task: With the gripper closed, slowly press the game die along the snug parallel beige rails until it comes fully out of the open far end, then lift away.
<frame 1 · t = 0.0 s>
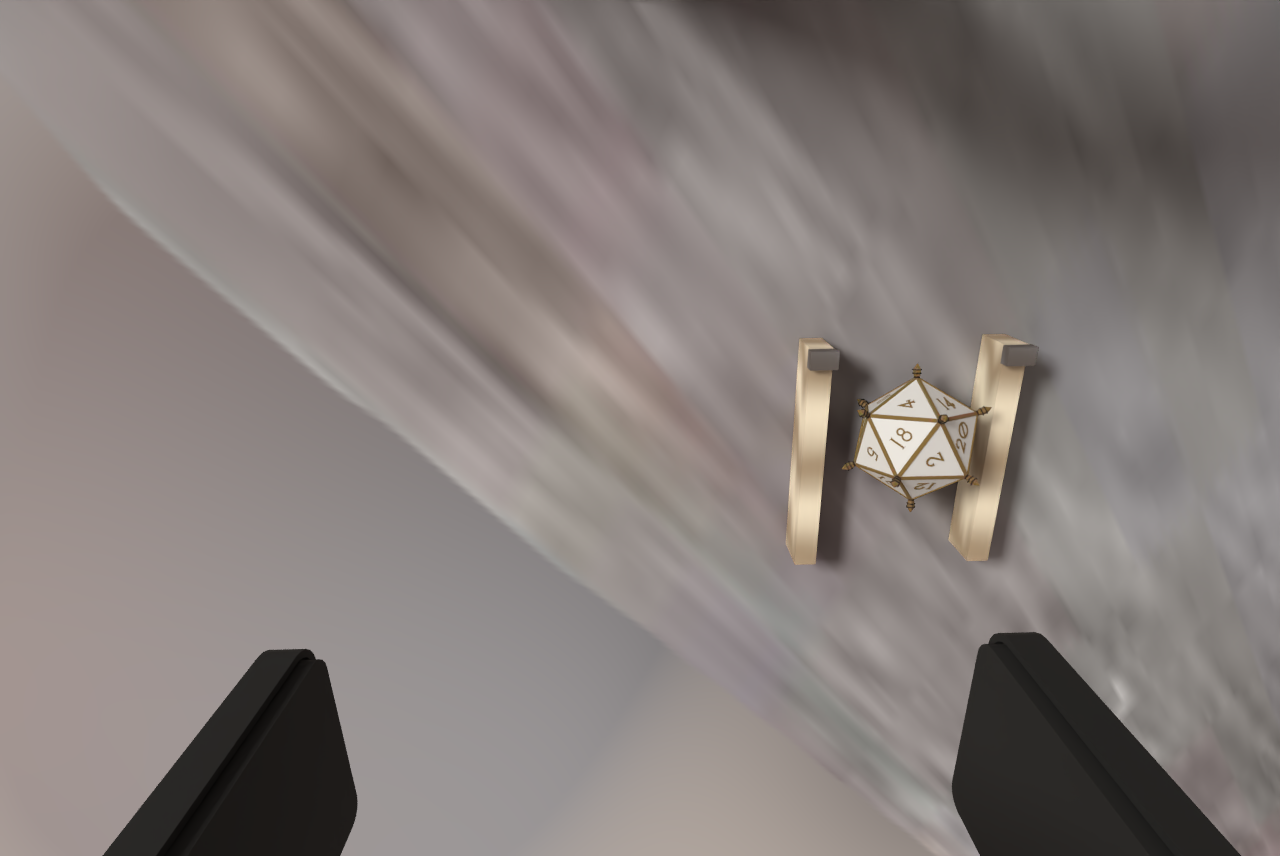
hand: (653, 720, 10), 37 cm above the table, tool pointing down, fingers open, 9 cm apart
game die: (890, 417, 47), on the table
parallel beige rails: (888, 444, 48), on the table
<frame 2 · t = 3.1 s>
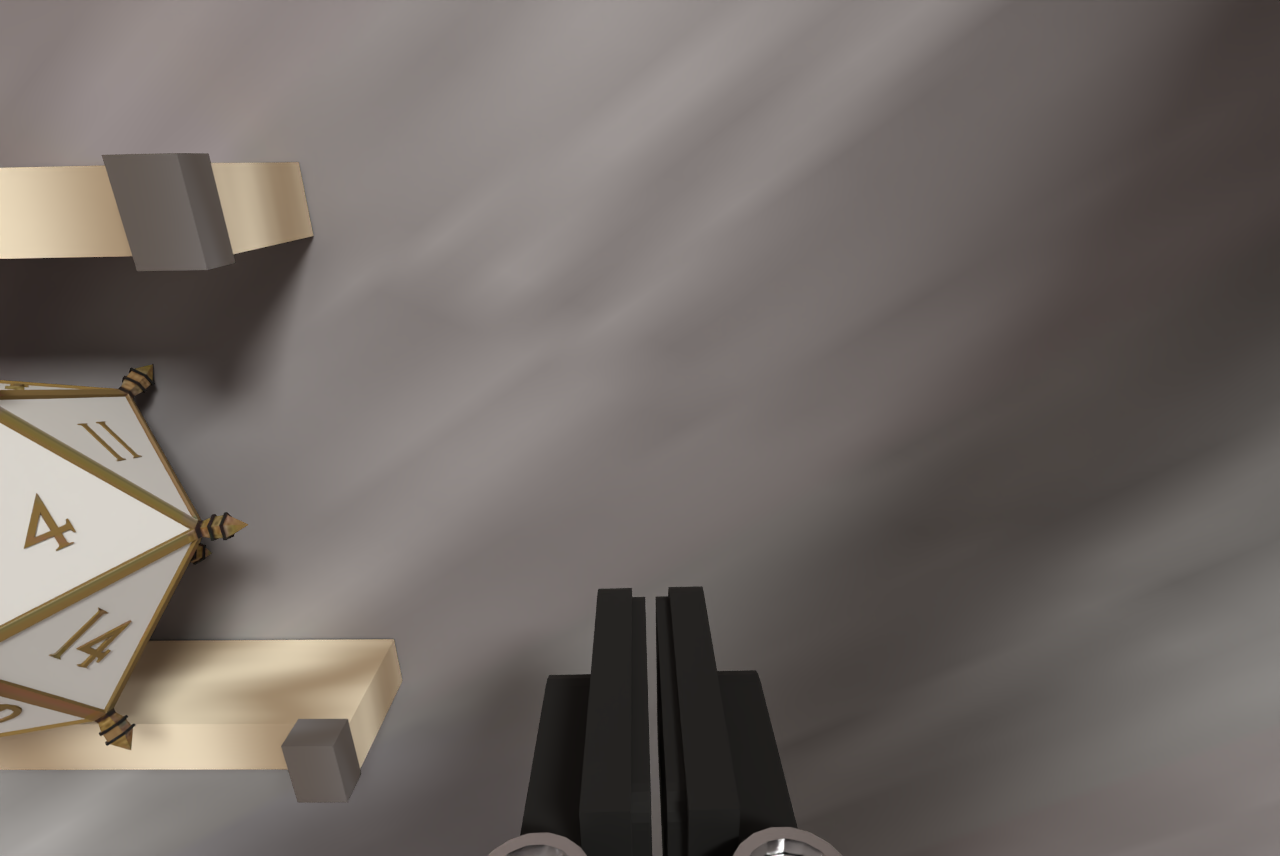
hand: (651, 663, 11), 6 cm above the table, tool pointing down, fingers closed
game die: (130, 461, 17), on the table
parallel beige rails: (46, 466, 17), on the table
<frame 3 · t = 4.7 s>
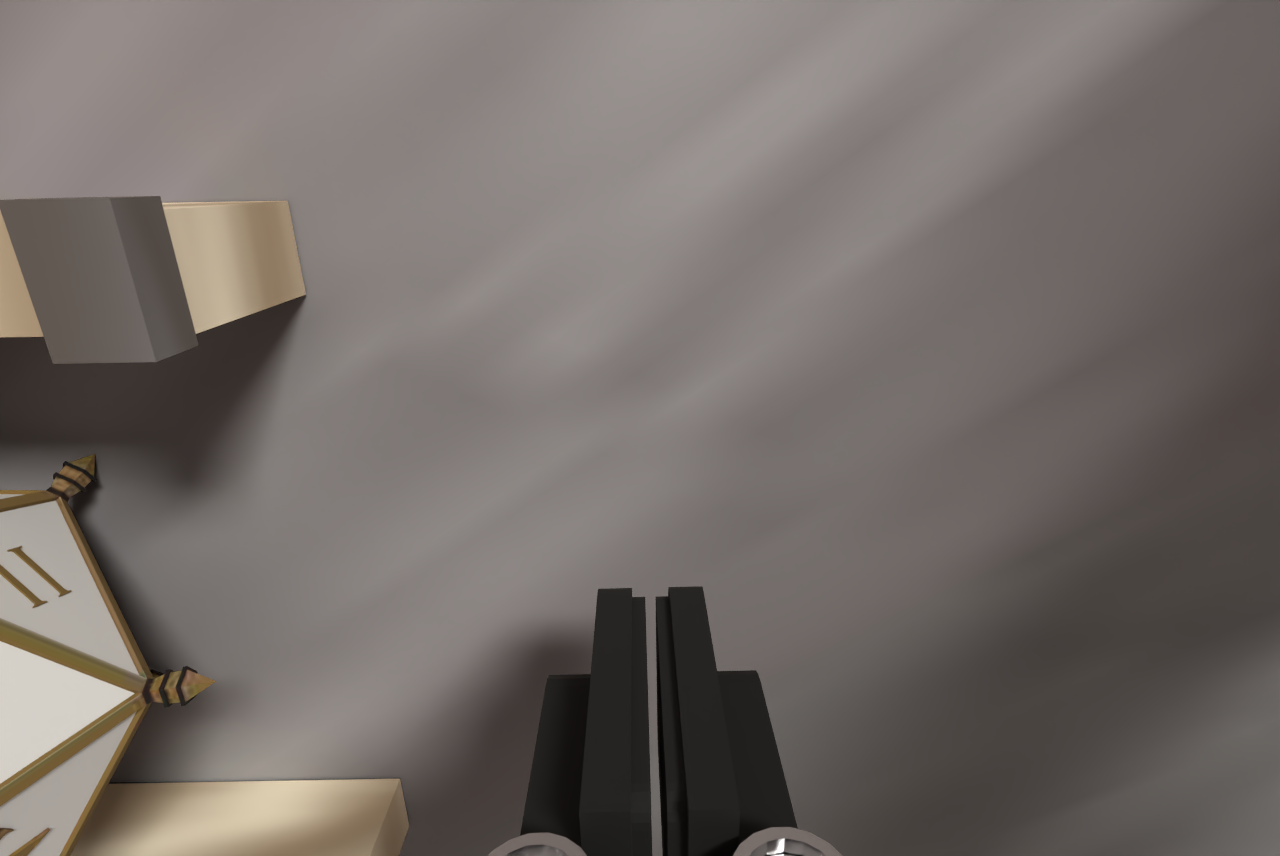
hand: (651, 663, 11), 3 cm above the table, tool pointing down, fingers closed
game die: (67, 571, 13), on the table
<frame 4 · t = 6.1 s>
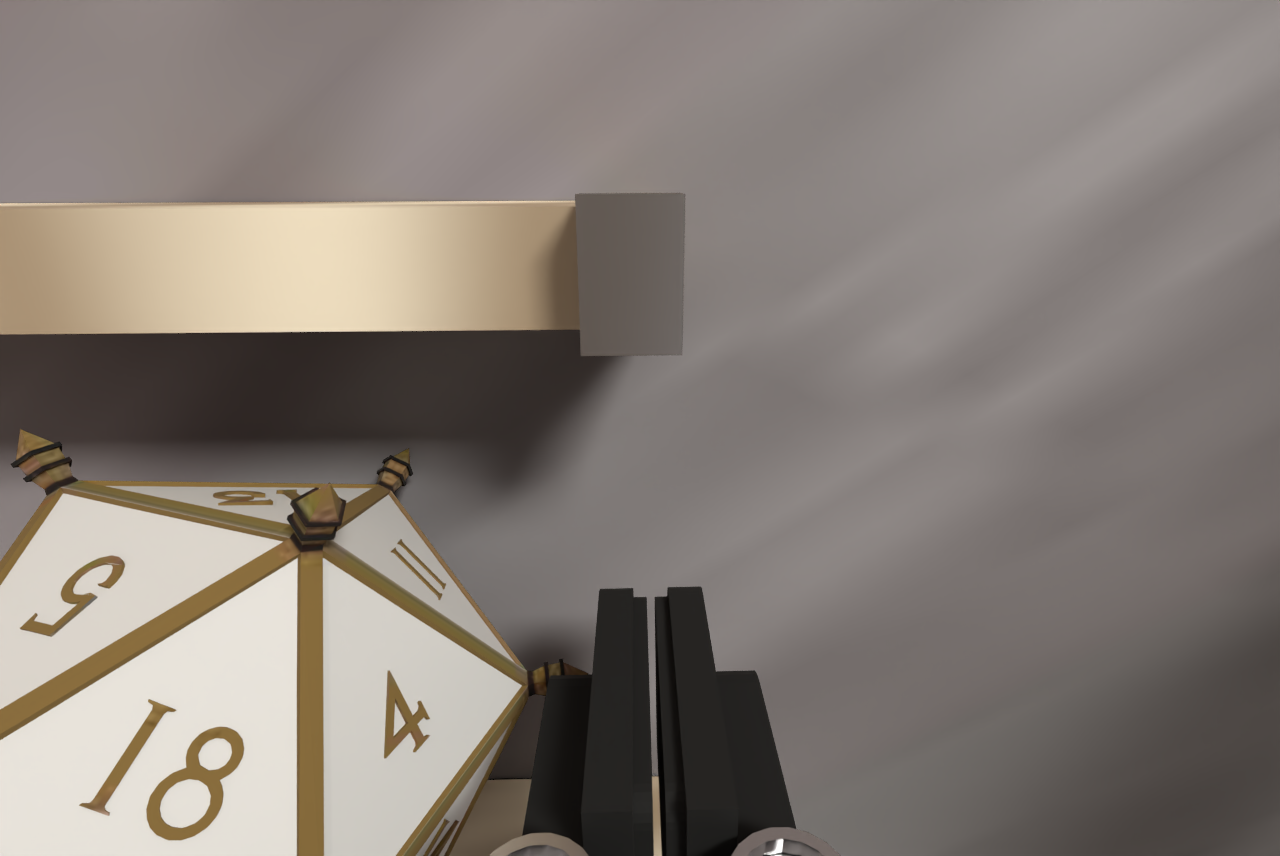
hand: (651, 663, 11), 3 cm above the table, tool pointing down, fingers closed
game die: (355, 565, 13), on the table, touching gripper
parallel beige rails: (258, 575, 13), on the table
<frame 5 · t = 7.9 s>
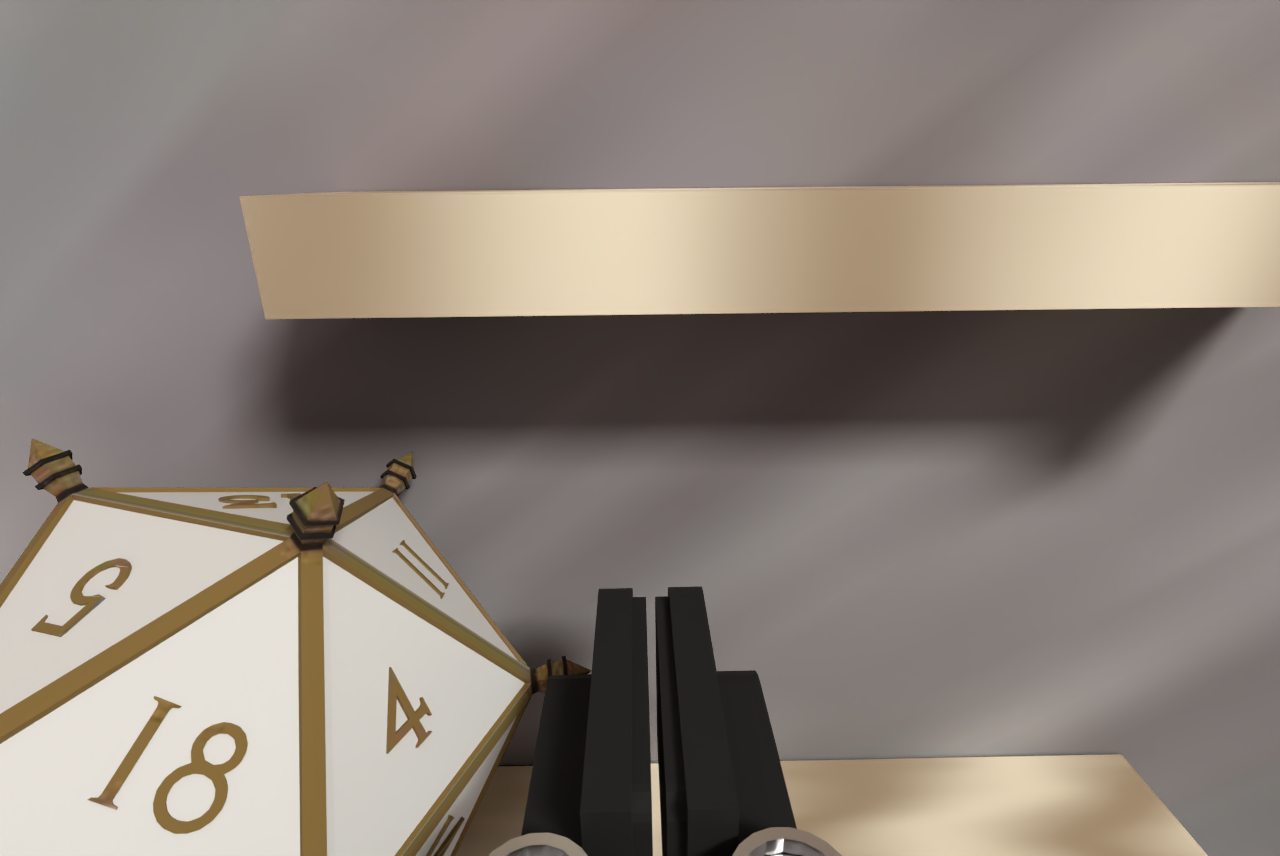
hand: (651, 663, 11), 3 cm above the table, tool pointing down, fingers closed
game die: (362, 569, 14), on the table, touching gripper
parallel beige rails: (796, 555, 13), on the table
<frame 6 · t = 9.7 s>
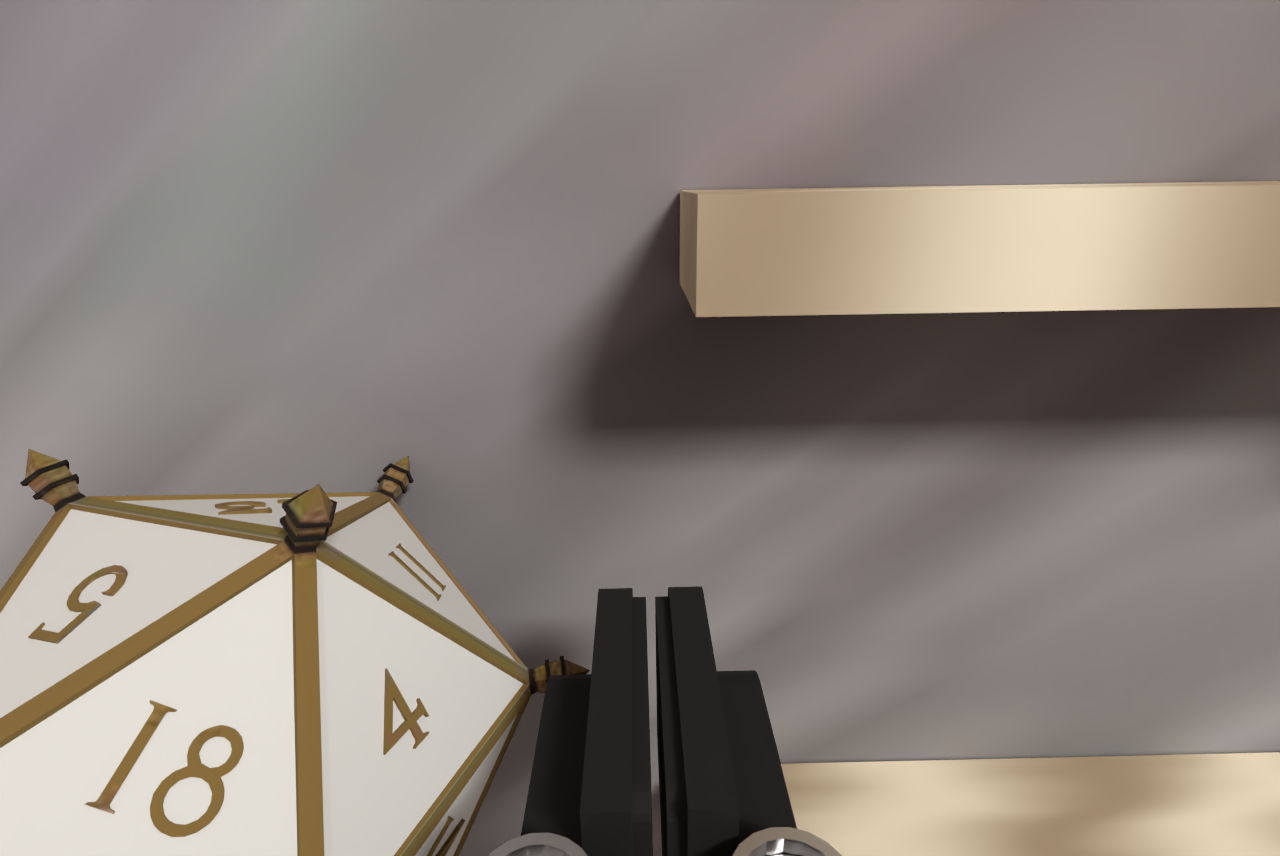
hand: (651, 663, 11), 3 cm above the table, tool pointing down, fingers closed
game die: (362, 575, 14), on the table, touching gripper
parallel beige rails: (1073, 551, 13), on the table
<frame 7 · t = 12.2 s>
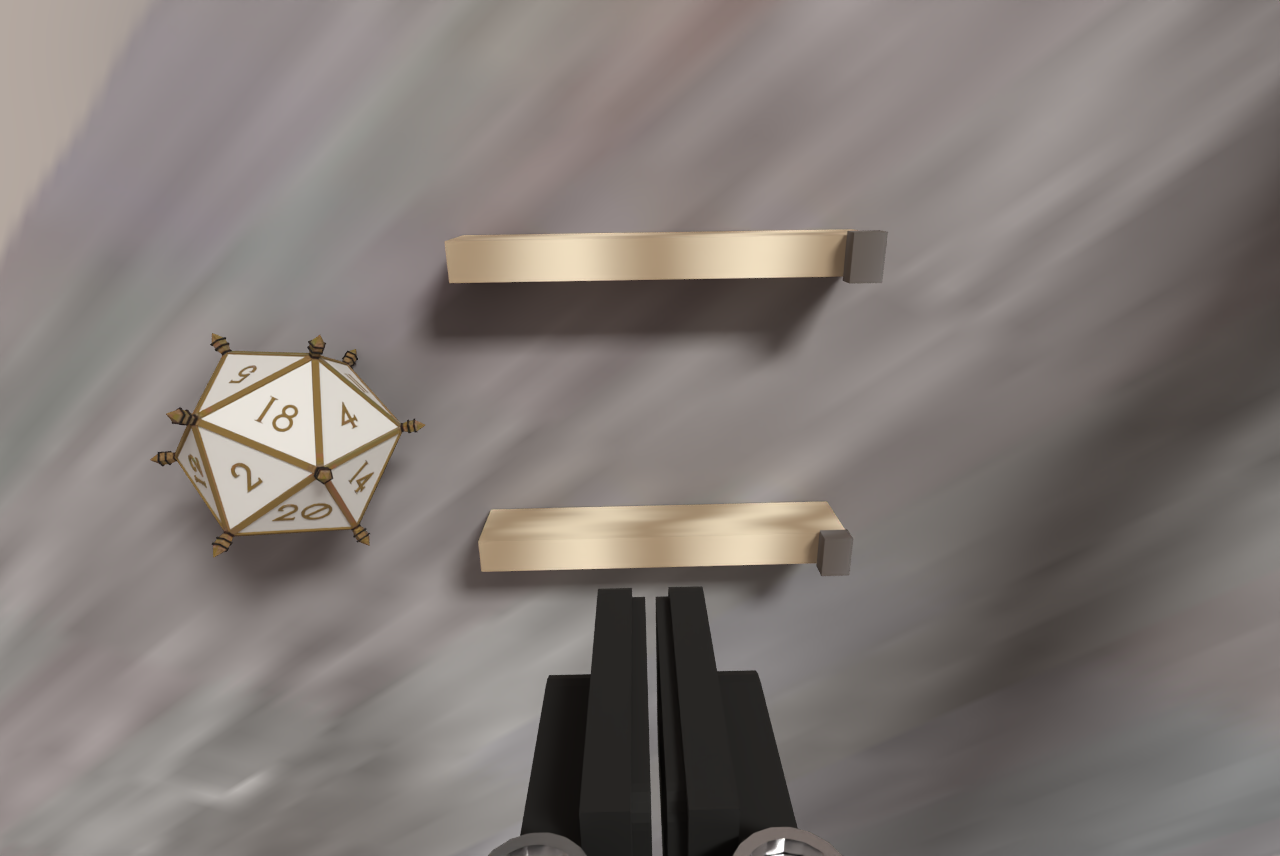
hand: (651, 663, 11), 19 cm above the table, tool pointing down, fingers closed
game die: (336, 407, 30), on the table
parallel beige rails: (659, 395, 30), on the table
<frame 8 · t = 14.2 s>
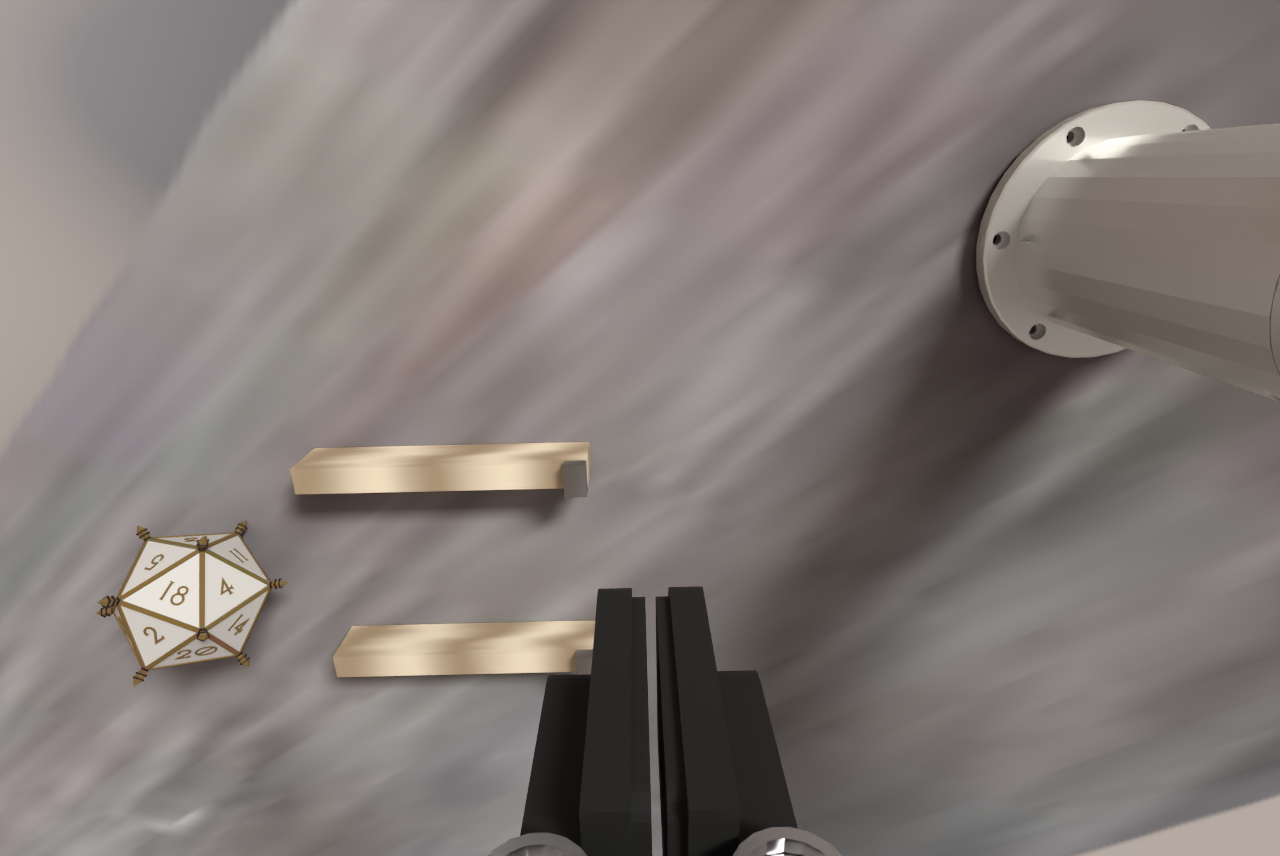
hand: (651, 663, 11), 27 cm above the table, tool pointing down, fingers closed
game die: (235, 557, 41), on the table
parallel beige rails: (465, 549, 41), on the table
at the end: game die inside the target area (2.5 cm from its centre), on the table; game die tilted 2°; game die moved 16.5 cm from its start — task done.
